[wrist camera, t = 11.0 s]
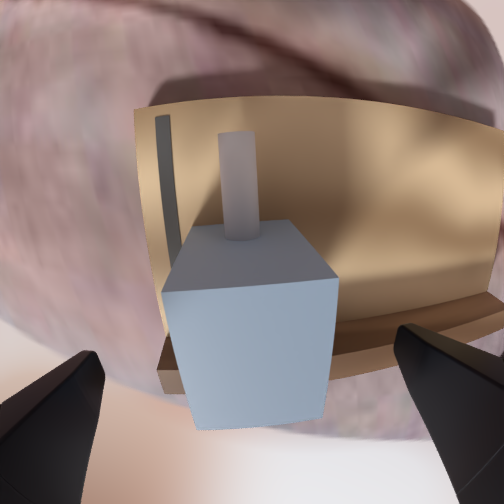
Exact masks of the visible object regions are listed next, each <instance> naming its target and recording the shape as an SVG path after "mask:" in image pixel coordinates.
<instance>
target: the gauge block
mask: <svg viewBox="0 0 504 504" xmlns="http://www.w3.org/2000/svg"><path fill="white" fill-rule="evenodd" d="M218 148H219V163H220V178H221V192H222V205H223V217H224V224H215V225H203V226H192V227H191V229H190V231H189V233H188V235H187V237H186V239H185V241H184V243H183V245H182V248H181V250H180V252H179V254H178V256H177V258H176V260H175V262H174V264H173V267H172V269H171V271H170V273H169V275H168V277H167V280H166V282H165V284H164V286H163V288H162V291H161V296H162V301H163V306H164V310H165V315H166V319H167V324H168V328H169V333H170V337H171V341H172V345H173V349H174V353H175V357H176V361H177V365H178V368H179V372H180V376H181V379H182V383H183V387H184V390H185V394H186V397H187V400H188V404H189V407H190V410H191V413H192V416H193V420H194V423H195V426H196V429H197V430H220V429H239V428H252V427H263V426H272V425H280V424H288V423H295V422H301V421H308V420H313V419H319V418H322V417H323V411H324V406H325V400H326V393H327V387H328V380H329V373H330V366H331V358H332V350H333V342H334V333H335V323H336V313H337V301H338V288H339V277H338V276H337V274H336V273H335V272H334V271H333V270H332V268H331V267H330V266H329V265H328V264H327V263H326V261H325V260H324V259H323V258H322V257H321V256H320V254H319V253H318V252H317V251H316V250H315V249H314V247H313V246H312V245H311V244H310V243H309V242H308V241H307V239H306V238H305V237H304V236H303V235H302V234H301V233H300V231H299V230H298V229H297V228H296V227H295V226H294V225H293V224H292V222H291V221H290V220H289V219H286V220H270V221H259V204H258V184H257V166H256V148H255V132H254V131H235V132H225V133H219V134H218Z"/></svg>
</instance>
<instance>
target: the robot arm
mask: <svg viewBox="0 0 504 504" xmlns="http://www.w3.org/2000/svg"><path fill="white" fill-rule="evenodd" d="M393 352H394V355H395V358H396V360H397V363H398V365H399V368H400V370H401V373H402V375H403V378H404V380H405V383H406V386H407V388H408V390H409V393H410V395H411V397H412V399H413V401H414V403H415V405H416V407H417V409H418V411H419V413H420V415H421V417H422V419H423V421H424V423H425V425H426V427H427V429H428V431H429V433H430V436H431V438H432V440H433V442H434V444H435V446H436V448H437V451H438V453H439V455H440V457H441V460H442V462H443V464H444V466H445V469H446V471H447V473H448V476H449V478H450V481H451V483H452V486H453V488H454V490H455V493H456V494H457V495H456V496H457V498H458V501H459V504H504V359H502V358H501V357H498V356H495V355H493V354H490V353H488V352H485V351H483V350H480V349H477V348H475V347H472V346H470V345H467V344H465V343H462V342H459V341H457V340H454V339H452V338H449V337H447V336H444V335H442V334H439V333H437V332H434V331H431V330H429V329H426V328H424V327H421V326H419V325H416V324H414V323H406V324H401V325H400V326H399V327H398V329H397V333H396V338H395V342H394V346H393ZM104 383H105V372H104V369H103V367H102V365H101V362H100V360H99V357H98V355H97V353H96V352H95V351H88V350H83V351H81V352H79V353H78V354H76V355H75V356H73V357H72V358H70V359H69V360H67V361H65V362H64V363H63V364H61V365H59V366H58V367H56V368H55V369H53V370H51V371H50V372H49V373H47V374H45V375H44V376H42V377H41V378H39V379H38V380H36V381H34V382H33V383H32V384H30V385H28V386H27V387H25V388H24V389H22V390H21V391H19V392H18V393H16V394H15V395H13V396H11V397H10V398H8V399H7V400H6V401H4V402H2V404H0V504H81V498H82V493H83V486H84V481H85V476H86V471H87V467H88V462H89V457H90V453H91V448H92V444H93V440H94V436H95V432H96V428H97V424H98V419H99V414H100V407H101V401H102V394H103V389H104Z"/></svg>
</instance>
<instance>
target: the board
mask: <svg viewBox="0 0 504 504" xmlns="http://www.w3.org/2000/svg"><path fill="white" fill-rule="evenodd" d="M134 126H135V143H136V156H137V168H138V178H139V187H140V196H141V204H142V212H143V219H144V226H145V233H146V240H147V246H148V252H149V258H150V263H151V269H152V274H153V280H154V285H155V290H156V295H157V299H158V304H159V309H160V313H161V318H162V322H163V326H164V330H165V335H166V339H165V343H164V346H163V350H162V353H161V357H160V360H159V364H158V367H157V373H158V376H159V379H160V382H161V385H162V388H163V390H164V393H165V394H185V390H184V387H183V383H182V379H181V376H180V372H179V368H178V365H177V361H176V357H175V353H174V349H173V345H172V341H171V337H170V333H169V328H168V324H167V319H166V315H165V310H164V306H163V301H162V296H161V291H162V288H163V286H164V284H165V282H166V280H167V277H168V275H169V273H170V271H171V269H172V267H173V264H174V262H175V260H176V258H177V256H178V254H179V252H180V250H181V248H182V245H183V243H184V241H185V239H186V237H187V235H188V233H189V231H190V229H191V227H192V226H203V225H215V224H224V217H223V205H222V192H221V178H220V163H219V148H218V134H219V133H225V132H235V131H254V132H255V148H256V166H257V184H258V204H259V221H270V220H286V219H289V220H290V221H291V222H292V224H293V225H294V226H295V227H296V228H297V229H298V230H299V231H300V233H301V234H302V235H303V236H304V237H305V238H306V239H307V241H308V242H309V243H310V244H311V245H312V246H313V247H314V249H315V250H316V251H317V252H318V253H319V254H320V256H321V257H322V258H323V259H324V260H325V261H326V263H327V264H328V265H329V266H330V267H331V268H332V270H333V271H334V272H335V273H336V274H337V276H338V277H339V288H338V301H337V313H336V323H335V333H334V342H333V350H332V358H331V366H330V373H329V380H334V379H340V378H345V377H350V376H355V375H359V374H364V373H368V372H373V371H377V370H381V369H385V368H389V367H393V366H397V365H398V363H397V360H396V358H395V355H394V352H393V346H394V342H395V338H396V333H397V329H398V327H399V326H400V325H401V324H406V323H414V324H416V325H419V326H421V327H424V328H426V329H429V330H431V331H434V332H437V333H439V334H442V335H444V336H447V337H449V338H452V339H454V340H457V341H459V342H462V343H465V344H466V343H468V342H471V341H474V340H476V339H479V338H481V337H484V336H486V335H489V334H491V333H493V332H496V331H498V330H500V329H503V328H504V303H503V302H502V301H500V300H499V299H497V298H496V297H494V296H493V295H492V294H490V293H489V292H487V289H488V285H489V281H490V277H491V273H492V268H493V264H494V259H495V253H496V248H497V242H498V236H499V229H500V221H501V213H502V202H503V189H504V131H503V130H500V129H497V128H494V127H490V126H487V125H484V124H481V123H477V122H474V121H470V120H467V119H463V118H459V117H455V116H451V115H447V114H443V113H438V112H434V111H429V110H424V109H419V108H414V107H408V106H402V105H396V104H389V103H382V102H375V101H366V100H357V99H346V98H333V97H316V96H244V97H227V98H214V99H203V100H193V101H185V102H177V103H170V104H163V105H156V106H150V107H145V108H139V109H134ZM329 380H328V381H329Z"/></svg>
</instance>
